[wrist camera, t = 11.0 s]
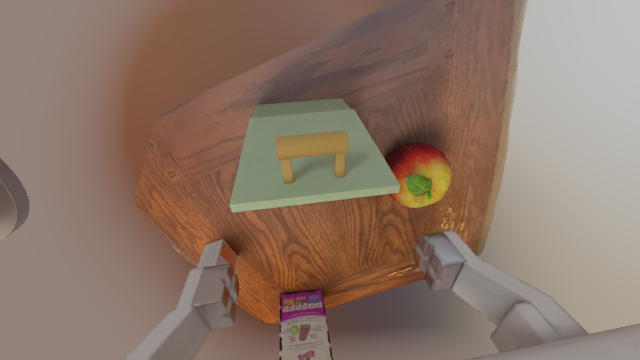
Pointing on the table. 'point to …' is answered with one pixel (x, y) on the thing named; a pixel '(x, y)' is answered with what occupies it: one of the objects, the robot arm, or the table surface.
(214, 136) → the table surface
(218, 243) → the cosmetic box
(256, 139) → the lid
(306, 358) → the candy bar box
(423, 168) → the fruit
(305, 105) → the chest
